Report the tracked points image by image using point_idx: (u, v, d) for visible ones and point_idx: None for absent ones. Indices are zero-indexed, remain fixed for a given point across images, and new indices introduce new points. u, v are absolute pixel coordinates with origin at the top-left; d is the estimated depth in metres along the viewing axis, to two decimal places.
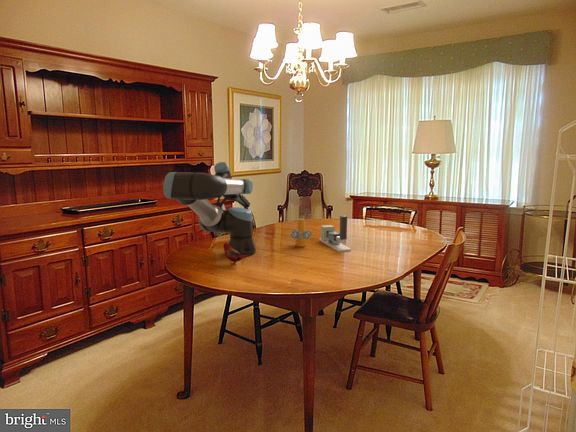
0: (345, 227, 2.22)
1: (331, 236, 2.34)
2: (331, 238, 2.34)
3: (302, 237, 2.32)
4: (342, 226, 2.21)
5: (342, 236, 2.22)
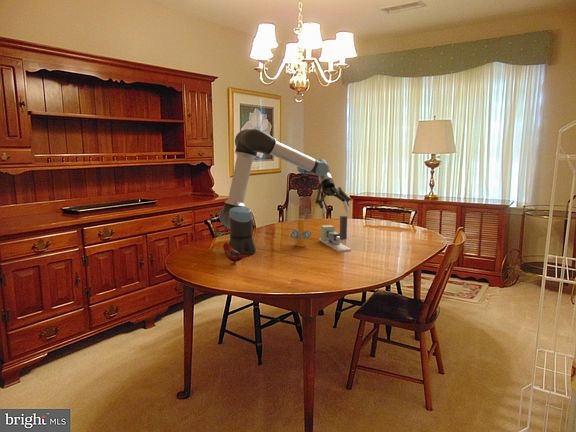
0: (345, 227, 2.22)
1: (331, 236, 2.34)
2: (331, 238, 2.34)
3: (302, 237, 2.32)
4: (342, 226, 2.21)
5: (342, 236, 2.22)
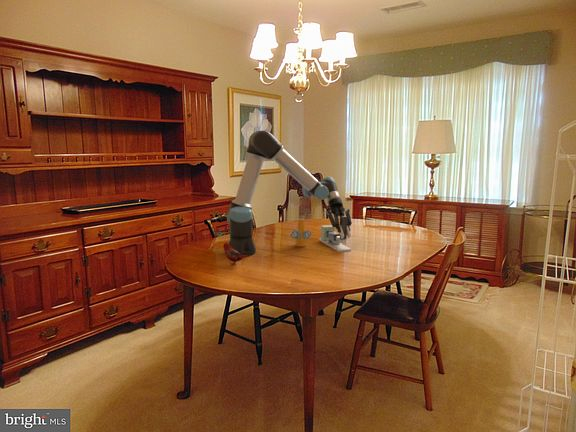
0: (345, 227, 2.22)
1: (331, 236, 2.34)
2: (331, 238, 2.34)
3: (302, 237, 2.32)
4: (342, 226, 2.21)
5: None
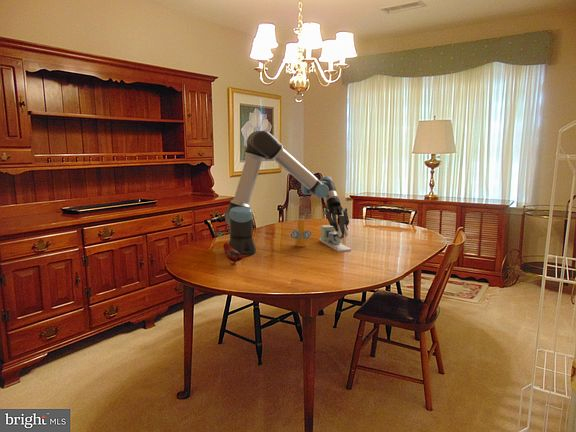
0: (343, 226, 2.25)
1: (331, 236, 2.34)
2: (331, 238, 2.34)
3: (302, 237, 2.32)
4: (340, 225, 2.24)
5: None
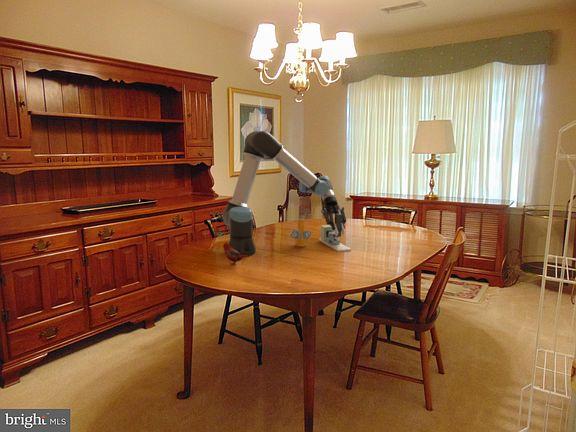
0: (340, 224, 2.29)
1: (331, 236, 2.34)
2: (331, 238, 2.34)
3: (302, 237, 2.32)
4: (337, 224, 2.28)
5: None
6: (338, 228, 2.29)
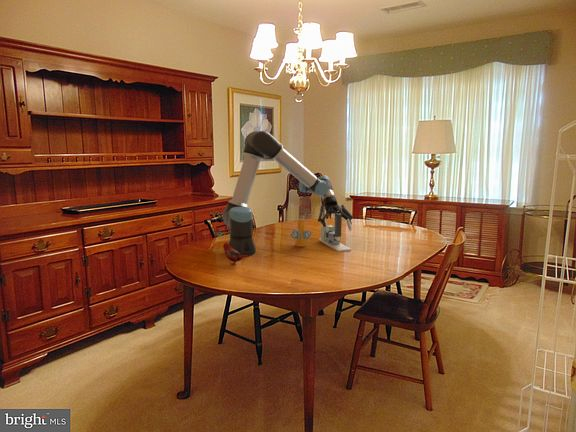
0: (340, 224, 2.29)
1: (331, 236, 2.34)
2: (331, 238, 2.34)
3: (302, 237, 2.32)
4: (337, 224, 2.28)
5: (337, 233, 2.29)
6: (338, 228, 2.29)
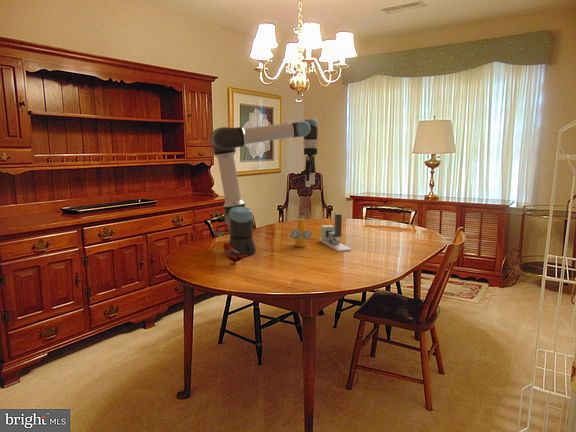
0: (340, 224, 2.29)
1: (331, 236, 2.34)
2: (331, 238, 2.34)
3: (302, 237, 2.32)
4: (337, 224, 2.28)
5: (337, 233, 2.29)
6: (338, 228, 2.29)
